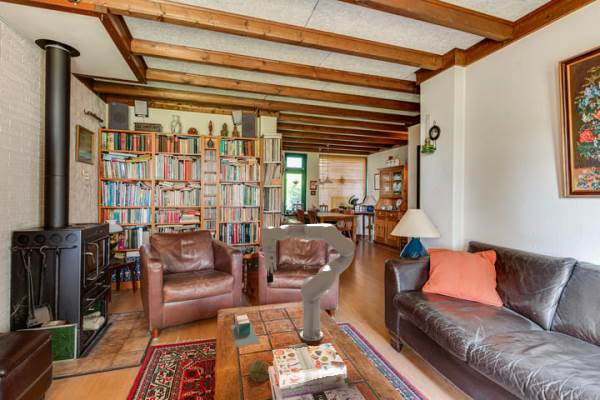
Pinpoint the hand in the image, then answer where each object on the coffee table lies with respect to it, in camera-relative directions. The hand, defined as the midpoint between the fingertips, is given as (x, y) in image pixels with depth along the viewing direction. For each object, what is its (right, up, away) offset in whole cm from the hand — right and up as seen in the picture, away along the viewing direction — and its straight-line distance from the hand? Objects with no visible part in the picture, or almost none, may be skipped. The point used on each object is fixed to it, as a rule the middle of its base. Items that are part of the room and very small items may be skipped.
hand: (270, 282), depth 159 cm
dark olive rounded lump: (-1, -29, -38) cm, 48 cm away
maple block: (-14, -25, -2) cm, 29 cm away
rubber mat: (-14, -28, -1) cm, 32 cm away
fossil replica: (+14, -29, -27) cm, 42 cm away
